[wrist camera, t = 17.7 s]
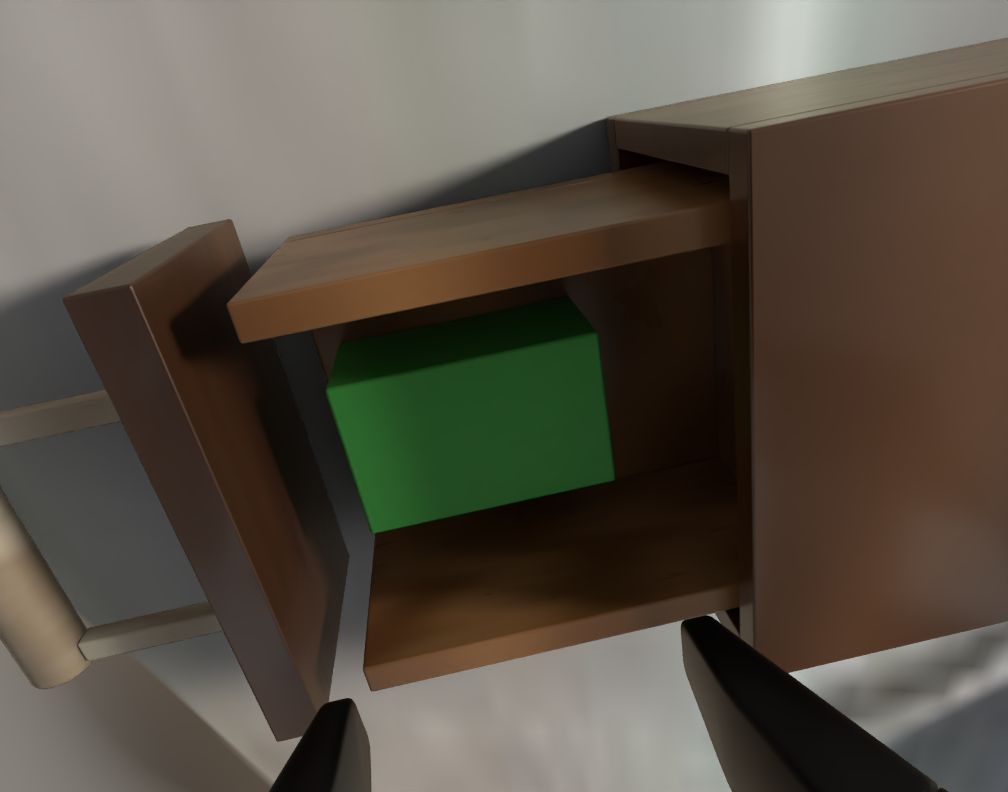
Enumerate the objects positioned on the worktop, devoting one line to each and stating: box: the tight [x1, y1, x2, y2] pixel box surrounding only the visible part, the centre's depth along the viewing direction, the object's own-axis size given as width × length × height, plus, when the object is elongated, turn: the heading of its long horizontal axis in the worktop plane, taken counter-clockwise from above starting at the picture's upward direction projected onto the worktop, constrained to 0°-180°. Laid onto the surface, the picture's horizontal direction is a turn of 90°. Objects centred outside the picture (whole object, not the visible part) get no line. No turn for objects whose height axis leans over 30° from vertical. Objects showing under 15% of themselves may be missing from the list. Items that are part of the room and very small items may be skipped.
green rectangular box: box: [325, 296, 615, 533], centre depth 17 cm, size 4×6×3 cm, turn 100°
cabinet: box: [606, 38, 1008, 673], centre depth 17 cm, size 16×13×9 cm
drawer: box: [0, 161, 740, 742], centre depth 17 cm, size 20×11×7 cm, turn 100°
